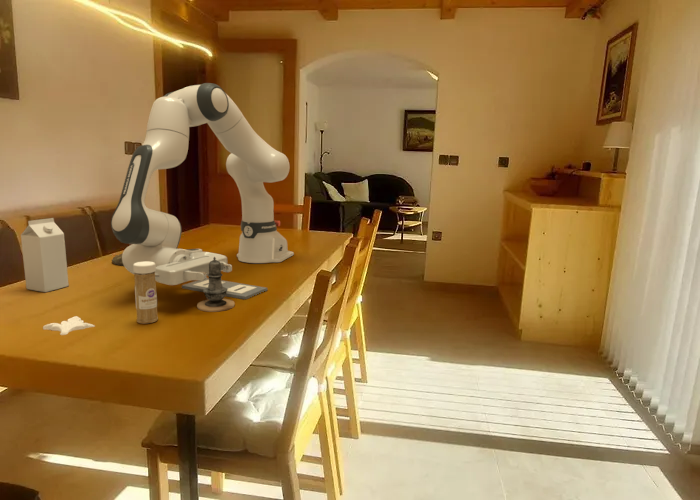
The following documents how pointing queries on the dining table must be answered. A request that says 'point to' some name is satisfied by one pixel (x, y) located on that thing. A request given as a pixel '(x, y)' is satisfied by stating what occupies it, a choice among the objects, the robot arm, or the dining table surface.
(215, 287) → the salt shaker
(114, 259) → the bread roll
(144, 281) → the sprinkles bottle
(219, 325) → the dining table surface
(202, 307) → the coaster
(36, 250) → the milk carton
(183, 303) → the dining table surface
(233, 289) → the label board
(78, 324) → the acanthus leaf ornament
